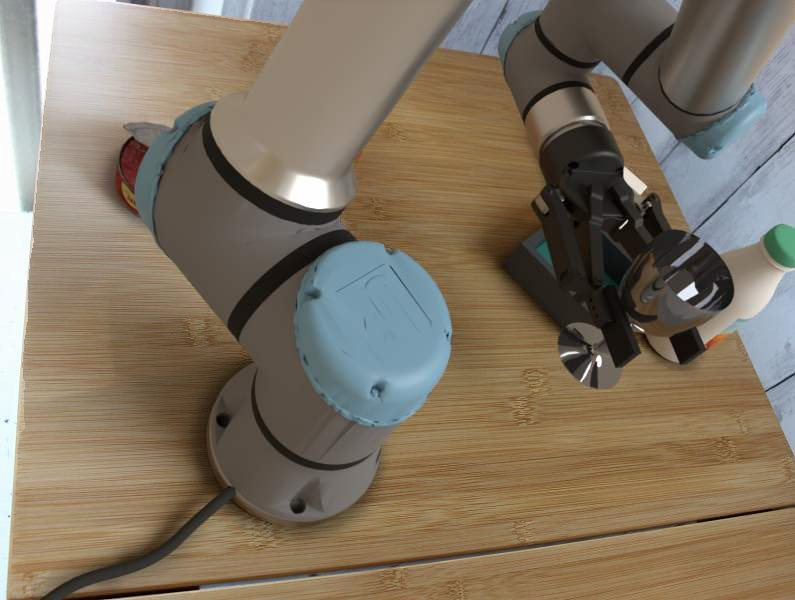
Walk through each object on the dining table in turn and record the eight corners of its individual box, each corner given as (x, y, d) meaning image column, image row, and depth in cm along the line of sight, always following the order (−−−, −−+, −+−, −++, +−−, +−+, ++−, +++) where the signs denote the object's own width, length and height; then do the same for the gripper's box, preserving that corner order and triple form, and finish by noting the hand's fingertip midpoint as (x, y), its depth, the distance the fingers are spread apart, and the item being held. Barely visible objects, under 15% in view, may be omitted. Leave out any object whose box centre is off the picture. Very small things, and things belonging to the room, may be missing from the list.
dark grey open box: (575, 343, 93) (599, 322, 89) (501, 265, 95) (521, 242, 91) (626, 293, 100) (649, 272, 97) (556, 222, 102) (576, 199, 98)
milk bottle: (656, 367, 96) (784, 273, 80) (631, 309, 99) (749, 208, 84) (706, 363, 99) (837, 273, 84) (680, 306, 103) (801, 210, 87)
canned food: (109, 196, 85) (95, 102, 80) (205, 180, 89) (198, 90, 84) (137, 248, 77) (124, 148, 72) (241, 228, 81) (236, 132, 76)
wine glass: (609, 319, 82) (711, 231, 71) (637, 392, 79) (749, 312, 67) (543, 318, 79) (638, 226, 67) (568, 394, 75) (674, 310, 64)
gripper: (630, 177, 88) (716, 373, 78) (471, 165, 80) (544, 383, 69) (674, 130, 82) (774, 335, 72) (508, 111, 74) (594, 340, 63)
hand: (661, 358), depth 71 cm, fingers closed on wine glass, 6 cm apart
